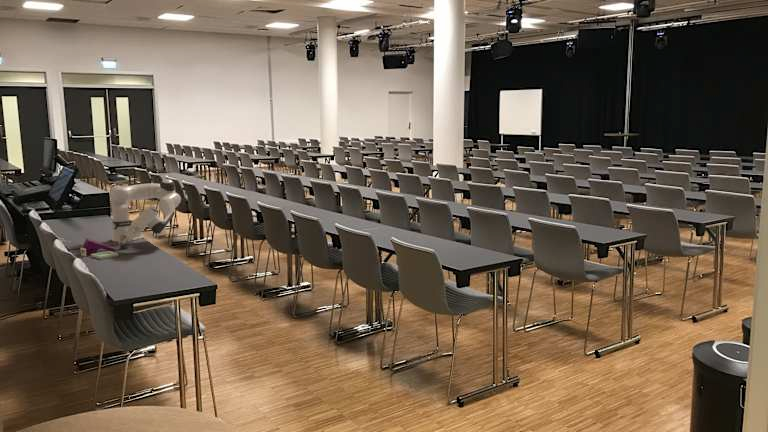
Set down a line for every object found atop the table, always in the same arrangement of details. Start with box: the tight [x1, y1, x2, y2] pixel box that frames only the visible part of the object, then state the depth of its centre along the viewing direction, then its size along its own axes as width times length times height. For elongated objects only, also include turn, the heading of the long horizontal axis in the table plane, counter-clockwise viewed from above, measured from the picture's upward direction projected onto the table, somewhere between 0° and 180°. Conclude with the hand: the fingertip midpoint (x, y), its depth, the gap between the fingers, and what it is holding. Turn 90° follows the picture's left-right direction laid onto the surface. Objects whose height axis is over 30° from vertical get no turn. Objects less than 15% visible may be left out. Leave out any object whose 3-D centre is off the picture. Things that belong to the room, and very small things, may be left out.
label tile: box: [80, 247, 88, 257], centre depth 410 cm, size 1×6×5 cm, turn 52°
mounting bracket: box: [82, 237, 116, 256], centre depth 421 cm, size 9×8×18 cm
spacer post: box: [120, 235, 128, 250], centre depth 419 cm, size 4×4×9 cm
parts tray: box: [90, 250, 120, 261], centre depth 409 cm, size 12×12×2 cm
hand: (122, 241), depth 419 cm, fingers closed on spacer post, 4 cm apart
